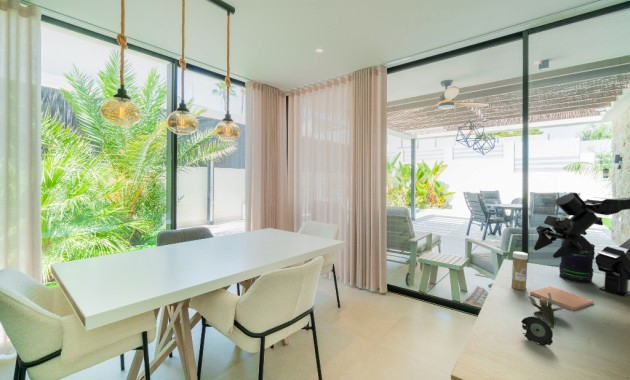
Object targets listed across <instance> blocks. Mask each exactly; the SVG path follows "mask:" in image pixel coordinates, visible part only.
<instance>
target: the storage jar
mask: <svg viewBox="0 0 630 380" xmlns="http://www.w3.org/2000/svg"><path fill="white" fill-rule="evenodd" d="M563 244H564V240H561V244H560V247H561V246H562V245H563ZM591 244H592V245H593V247H592V250H591V251H590V252H588V253H587V252H584V253H576V254H571V255H567V256H562V257H560V258H561V259H560V262H559V277H560V278H561V279H562V280H566V281H569V282H572V283H577V284H585V285H588V284H589V285H590V284H592V283H593V277H594V268H593V263H594V259H595V256H596V255H595V254H596V253H595V248H596V247H595V244H593V243H591Z"/></svg>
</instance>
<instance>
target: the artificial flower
mask: <svg viewBox="0 0 630 380" xmlns="http://www.w3.org/2000/svg"><path fill="white" fill-rule="evenodd" d="M548 294H549V295H548V296H549V297H550V298H549V299H548V301H547V300H544V299H543V298H541V297H540V298H539V300H538V302H539V303H537V302H536V299H535V298H534V297H533V296H532V295H528V296H527V300H528V301H530V304H531V305H532V306H533V307H535V308H537V309H538V310H537V311H533V314H535V313H542V314H543V316H544V317H545V318H546V320H547V321H546V320H544V319H542V318H540V317H536V316H531V315H530V316H526V317H524V318H523V319H522V320H521V326H522V329H521V331H522V330H525V331H526V332H522V334H523V335H524V338H526V340H527V341H529V342H531V341H533V342H534V341H535V342H534V343H536V342H538V343H539V344H538V343H537V344H538V345H541V346H547V345H548V346H551V345H553V342H554V341H553V338H554V337H553V336H554V335H553V334H554V333H553V330H552V328H554V326H555V324H556V323H555V322H556V316H555V312H557V311H561V310H564V309H567V308H566V307H564V306H563V307H562V306H559V307H556V308H553V305H554V303H553V299H552V297H551V294H550V293H548ZM548 322H549V323H550V324H549V323H548Z"/></svg>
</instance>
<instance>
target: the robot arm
mask: <svg viewBox="0 0 630 380" xmlns="http://www.w3.org/2000/svg"><path fill="white" fill-rule="evenodd" d="M555 204H556V205H557V206H558V208H560V209H561V210H562V211H563V213H565V215H567V216H571V217H570V218H568V217H565V216H563V217H557V216H554V215H553V216H552V215H547V216H546V218H545V220H544V221H543V224H545V225H546V226H545V225H539V226H537V227H536V228H535V230H536V233H537V234H538V238H537V241H536V242H535V244H534V247H533V250H534V251H539V250H542V249H543V248H545V247H547V246H549V245H551V244H553V243H554V242H555V241H556V240H561V241H562V240H564V244H563V245H562V246H561V245H560V247H559V248H558V249H557V250H556V251H555V252H553V253H554V254H552V257H553V258H554V259H558V258H561V257H562V256H567V255H571V254H576V253H584V252H587V253H588V252H590V251H591V250H592V247H593V245H592V244H593V243H591V242H590V241H589V240H588V239H587V238H586V237H584V236H586V235H588V233H587V230H588V229H590V227H592V226H593V225H598V226H603V225H604V223H603V217H601V216H602V215H603V216H610V215H614V214H618V213H620V212H622V211H624V210H630V196H629V197H621V198H604V197H589V198H587V199H586V200H584V199H582V198H581V197H580V196H579V194H578V193H577V192H569V194H564V195H562V196H559V197H557V198H556V200H555ZM596 214H597V215H601V216H600V217H599V216H597V215H596ZM547 225H548V226H547ZM549 226H550V227H549ZM551 227H552V228H551ZM594 259H595V264H596V266H597V269H598V271H599V272H603V273H604V283H603V286H599V288H598V289H599V290H602V291H604V292H605V291H606V292H609V293H613V294H616V295H619V296H622V297H626V296H629V295H630V290H629V281H630V238H628V239H627V240H626V241H624V242H623V243H622V244H620V245H619V246H618V247H610V246H606V247H604V248H603V249H602V250H600V251H599V252H598V251H597V255H595V256H594Z"/></svg>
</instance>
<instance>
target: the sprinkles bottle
mask: <svg viewBox="0 0 630 380" xmlns="http://www.w3.org/2000/svg"><path fill="white" fill-rule="evenodd" d="M528 259H529V254H528V253H527V252H524V251H513V252H512V266H511V268H512V269H511V288H513V289H517V290H520V291H524V290H525V291H526V290H527V279H528V278H527V277H528Z"/></svg>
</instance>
